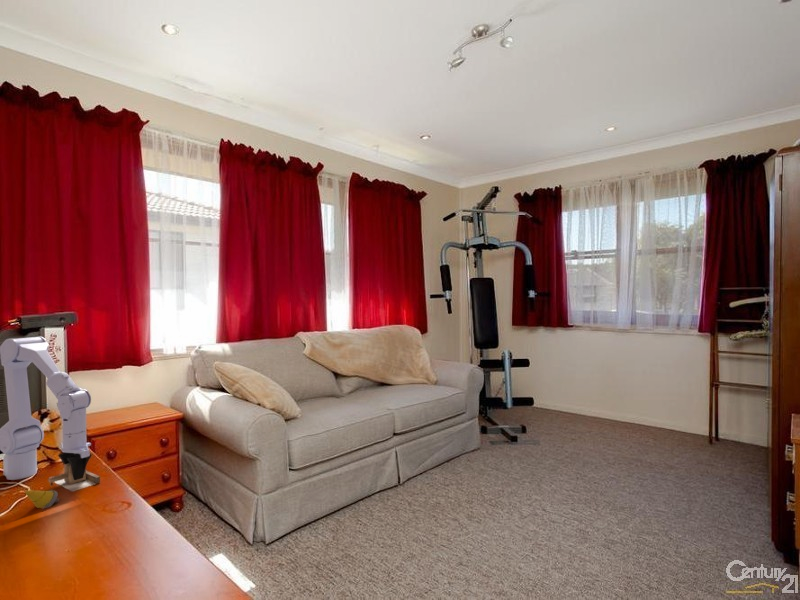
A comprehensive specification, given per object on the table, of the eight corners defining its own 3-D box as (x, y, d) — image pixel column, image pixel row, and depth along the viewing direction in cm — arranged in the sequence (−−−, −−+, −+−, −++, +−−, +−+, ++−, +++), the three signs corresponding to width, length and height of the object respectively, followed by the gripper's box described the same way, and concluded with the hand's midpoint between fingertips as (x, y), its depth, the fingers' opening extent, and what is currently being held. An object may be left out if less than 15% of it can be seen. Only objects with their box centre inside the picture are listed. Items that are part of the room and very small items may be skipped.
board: (49, 483, 132) (49, 473, 132) (76, 475, 138) (76, 466, 138) (72, 495, 123) (72, 485, 123) (100, 486, 129) (100, 476, 129)
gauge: (46, 486, 126) (46, 469, 126) (79, 476, 133) (79, 460, 133) (52, 489, 124) (52, 471, 124) (85, 479, 131) (85, 462, 131)
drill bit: (62, 510, 115) (29, 495, 109) (44, 519, 116) (10, 504, 109) (69, 491, 120) (37, 476, 113) (51, 500, 120) (18, 485, 113)
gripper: (101, 431, 130) (101, 477, 130) (79, 425, 138) (79, 468, 138) (73, 438, 124) (73, 486, 124) (52, 430, 132) (52, 475, 132)
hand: (75, 477), depth 130 cm, fingers closed on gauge, 4 cm apart
